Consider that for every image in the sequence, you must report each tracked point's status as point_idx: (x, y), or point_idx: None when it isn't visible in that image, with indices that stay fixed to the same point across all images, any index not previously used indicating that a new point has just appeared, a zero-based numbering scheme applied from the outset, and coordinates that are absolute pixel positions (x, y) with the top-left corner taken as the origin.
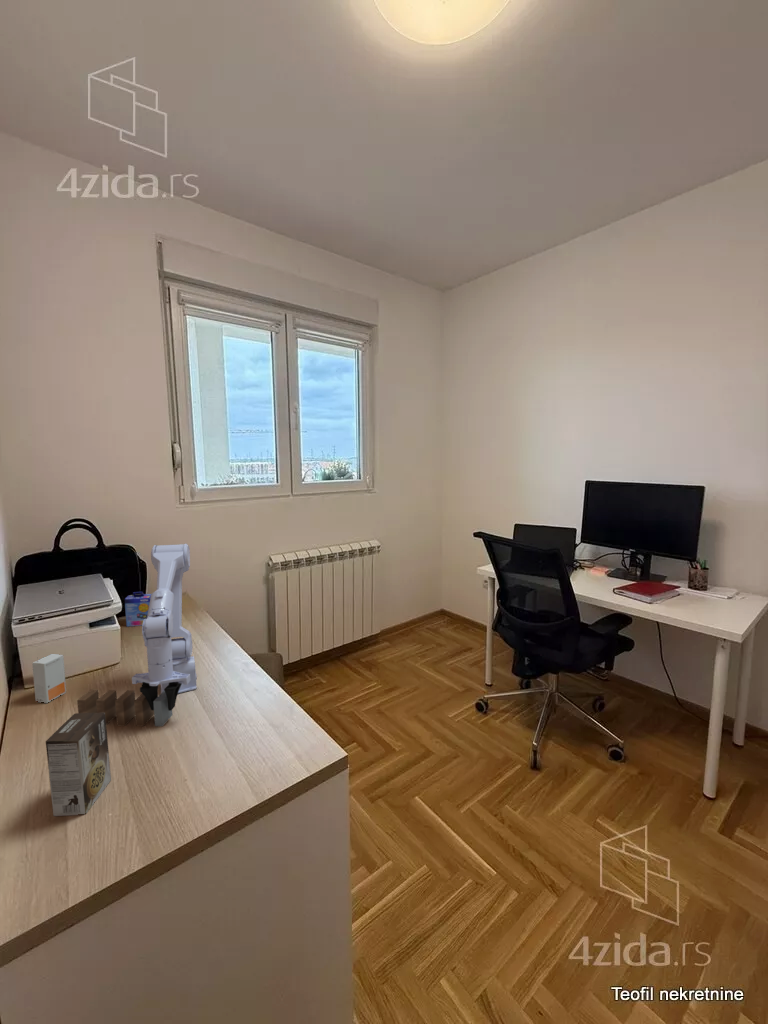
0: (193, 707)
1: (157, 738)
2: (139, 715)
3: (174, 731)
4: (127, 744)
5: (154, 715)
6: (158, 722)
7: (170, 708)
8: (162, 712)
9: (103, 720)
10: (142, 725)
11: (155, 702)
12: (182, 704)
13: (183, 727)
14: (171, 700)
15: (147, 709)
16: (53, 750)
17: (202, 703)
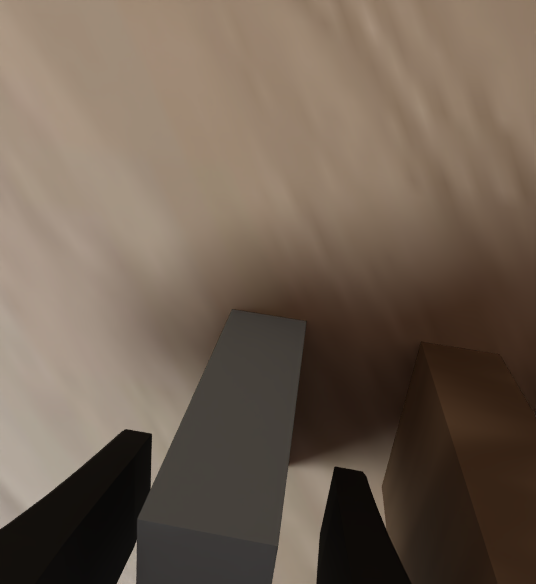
0: None
1: (195, 116)
2: (488, 418)
3: (80, 215)
4: (493, 35)
5: (295, 383)
6: (265, 334)
7: (110, 442)
8: (196, 400)
9: None
10: (434, 346)
11: (244, 520)
12: None
13: (29, 265)
14: (12, 523)
15: (421, 498)
16: None
17: None
